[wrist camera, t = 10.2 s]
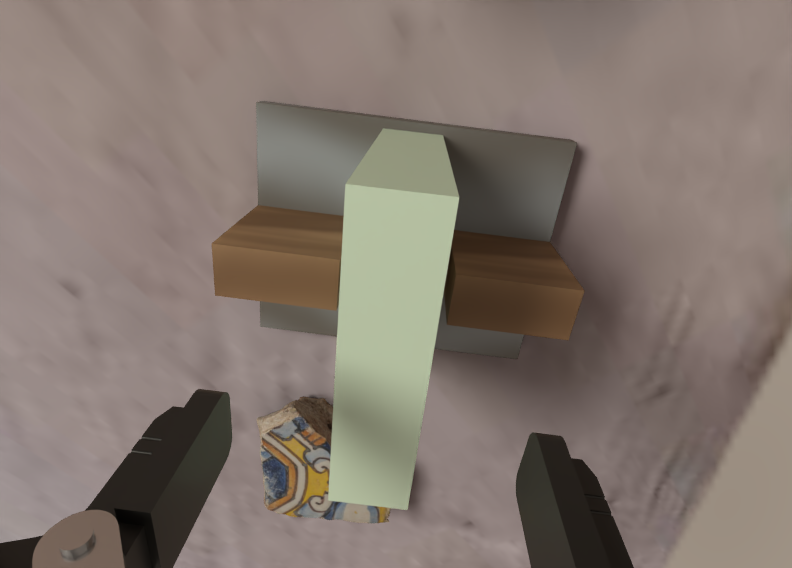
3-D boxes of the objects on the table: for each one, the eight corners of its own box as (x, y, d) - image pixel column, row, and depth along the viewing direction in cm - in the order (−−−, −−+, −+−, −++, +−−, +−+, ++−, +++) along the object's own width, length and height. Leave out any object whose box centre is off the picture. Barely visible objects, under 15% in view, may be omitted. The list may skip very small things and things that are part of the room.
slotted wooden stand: (262, 101, 23) (202, 113, 17) (571, 139, 23) (625, 166, 17) (265, 318, 29) (221, 388, 23) (514, 350, 29) (539, 428, 23)
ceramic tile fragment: (429, 489, 31) (350, 563, 34) (429, 453, 34) (356, 524, 37) (274, 400, 28) (208, 490, 32) (289, 370, 31) (226, 455, 35)
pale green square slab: (383, 128, 23) (345, 183, 12) (442, 135, 23) (459, 197, 12) (365, 332, 28) (328, 500, 17) (414, 338, 28) (407, 510, 17)
